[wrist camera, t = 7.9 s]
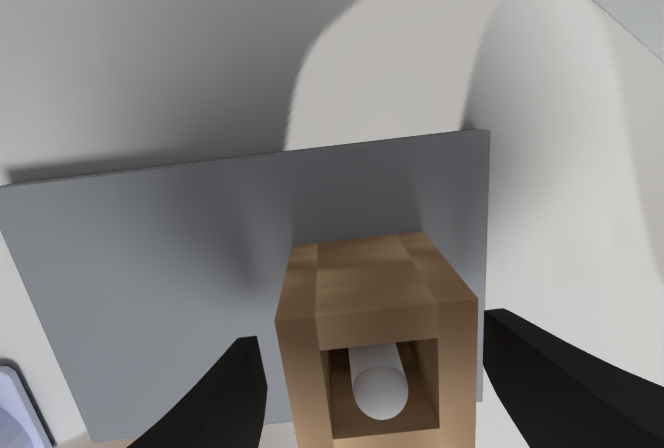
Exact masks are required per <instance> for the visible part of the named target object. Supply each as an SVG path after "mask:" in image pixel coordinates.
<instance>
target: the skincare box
mask: <svg viewBox="0 0 664 448" xmlns="http://www.w3.org/2000/svg"><path fill="white" fill-rule="evenodd" d="M593 1H594V2H595V3H597V4H598V5H599V6H600V7H601V8H602V9H603V10H604V11H606V12H607V13H608V14H609V15H610V16H611V17H612V18H614V19H615V20H616V21H617V22H618V23H619V24H620V25H622V26H623V27H624V28H625V29H626V30H627V31H628V32H629V33H631V34H632V35H633V36H634V37H635V38H636V39H637V40H639V41H640V42H641V43H642V44H643V45H644V46H646V47H647V48H648V49H649V50H650V51H651V52H652V53H654V54H655V55H656V56H657V57H658V58H659V59H660V60H662V61H663V62H664V0H593Z"/></svg>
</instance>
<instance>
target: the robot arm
mask: <svg viewBox="0 0 664 448" xmlns="http://www.w3.org/2000/svg"><path fill="white" fill-rule="evenodd" d="M483 366H484V368H485V371H486V373H487V375H488V377H489V379H490V382H491V384H492V386H493V388H494V390H495V392H496V394H497V396H498V397H499V399H500V401H501V402H502V404H503V406H504V407H505V409H506V410H507V412H508V414H509V415H510V417H511V419H512V420H513V422H514V423H515V425H516V426H517V428H518V430H519V431H520V433H521V434H522V436H523V438H524V439H525V441H526V442H527V444H528V445H529V447H530V448H664V387H662V386H660V385H658V384H655V383H653V382H650V381H648V380H646V379H643V378H641V377H638V376H636V375H634V374H631V373H629V372H627V371H624V370H622V369H620V368H618V367H616V366H613V365H611V364H609V363H607V362H605V361H603V360H601V359H599V358H597V357H595V356H593V355H591V354H589V353H587V352H585V351H583V350H581V349H579V348H577V347H575V346H573V345H571V344H569V343H567V342H565V341H563V340H562V339H560V338H558V337H556V336H554V335H552V334H551V333H549V332H547V331H545V330H543V329H541V328H540V327H538V326H536V325H534V324H532V323H531V322H529V321H527V320H525V319H523V318H521V317H520V316H518V315H516V314H514V313H512V312H510V311H508V310H506V309H504V308H502V309H493V310H484V329H483ZM267 391H268V386H267V381H266V376H265V372H264V367H263V362H262V357H261V353H260V348H259V343H258V339H257V336H248V337H239V338H237V339H236V340H235V341H234V342H233V343H232V345H231V346H230V347H229V348H228V349H227V350H226V351H225V353H224V354H223V355H222V356H221V357H220V358H219V359H218V360H217V362H216V363H215V364H214V365H213V366H212V367H211V368H210V369H209V370H208V372H207V373H206V374H205V375H204V376H203V377H202V378H201V379H200V380H199V381H198V382H197V384H196V385H195V386H194V387H193V388H192V389H191V390H190V391H189V392H188V393H187V394H186V395H185V396H184V397H183V398H182V399H181V400H180V401H179V402H178V403H177V404H176V405H175V406H174V407H173V408H172V409H171V410H170V411H168V412H167V413H166V414H165V415H164V416H163V417H162V418H161V419H160V420H159V421H158V422H156V423H155V424H154V425H153V426H152V427H151V428H150V429H148V430H147V431H146V432H145V433H144V434H143V435H141V436H140V437H139V438H138V439H137V440H136V441H134V442H133V443H132V444H131V445H129V446H128V447H127V448H258V446H259V441H260V437H261V432H262V428H263V423H264V418H265V410H266V401H267ZM0 448H53V447H52V445H51V443H50V441H49V439H48V437H47V435H46V433H45V431H44V429H43V426H42V424H41V422H40V420H39V418H38V416H37V414H36V412H35V410H34V408H33V406H32V404H31V402H30V400H29V398H28V396H27V394H26V392H25V389H24V387H23V385H22V383H21V381H20V379H19V377H18V375H17V373H16V372H15V370H13V369H12V368H10V367H7V366H0Z"/></svg>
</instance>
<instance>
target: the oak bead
mask: <svg viewBox="0 0 664 448" xmlns="http://www.w3.org/2000/svg"><path fill="white" fill-rule="evenodd" d="M274 322H275V327H276V333H277V338H278V343H279V349H280V354H281V359H282V364H283V370H284V375H285V380H286V386H287V391H288V396H289V401H290V407H291V412H292V417H293V422H294V428H295V433H296V438H297V444H298V448H475V426H476V383H477V339H478V298H477V296H476V295H475V294H474V293H473V291H472V290H471V289H470V288H469V287H468V285H467V284H466V283H465V282H464V281H463V279H462V278H461V277H460V276H459V274H458V273H457V272H456V271H455V270H454V268H453V267H452V266H451V265H450V264H449V262H448V261H447V260H446V259H445V257H444V256H443V255H442V254H441V253H440V251H439V250H438V249H437V248H436V247H435V245H434V244H433V243H432V242H431V240H430V239H429V238H428V237H427V236H426V234H425V233H424V232H423V231H417V232H409V233H400V234H391V235H382V236H373V237H364V238H355V239H346V240H337V241H329V242H320V243H311V244H302V245H293V246H292V248H291V252H290V256H289V260H288V265H287V269H286V273H285V278H284V282H283V286H282V290H281V295H280V299H279V303H278V307H277V312H276V316H275V320H274ZM386 343H395V344H396V348H397V351H398V354H399V357H400V361H401V364H402V367H403V370H404V374H405V377H406V380H407V384H408V398H407V402H406V404H405V406H404V408H403V409H402V411H401V412H400V413H399V414H397V415H396V416H395V417H393V418H390V419H386V420H378V419H374V418H372V417H369V416H368V415H366V414H365V413H364V412H363V411H362V410H361V409H360V408H359V407H358V405H357V403H356V401H355V398H354V395H353V389H352V379H351V369H350V360H349V350H348V348H349V347H358V346H367V345H376V344H386Z"/></svg>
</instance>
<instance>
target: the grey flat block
mask: <svg viewBox="0 0 664 448" xmlns="http://www.w3.org/2000/svg"><path fill="white" fill-rule="evenodd" d="M489 147H490V131H489V130H481V129H471V130H462V131H453V132H446V133H436V134H428V135H420V136H411V137H403V138H394V139H386V140H377V141H368V142H360V143H351V144H343V145H334V146H326V147H318V148H310V149H300V150H292V151H283V152H275V153H266V154H257V155H249V156H240V157H232V158H223V159H215V160H206V161H198V162H189V163H181V164H172V165H164V166H155V167H147V168H138V169H130V170H121V171H113V172H104V173H96V174H87V175H78V176H70V177H61V178H53V179H44V180H36V181H27V182H19V183H11V184H7V185H2V186H0V230H1V233H2V235H3V237H4V240H5V242H6V244H7V247H8V249H9V251H10V253H11V256H12V258H13V260H14V263H15V265H16V267H17V269H18V272H19V274H20V276H21V279H22V281H23V283H24V286H25V288H26V290H27V292H28V295H29V297H30V299H31V302H32V304H33V306H34V309H35V311H36V313H37V315H38V318H39V320H40V322H41V325H42V327H43V329H44V331H45V334H46V336H47V338H48V341H49V343H50V345H51V348H52V350H53V352H54V354H55V357H56V359H57V361H58V364H59V366H60V368H61V371H62V373H63V375H64V377H65V380H66V382H67V384H68V387H69V389H70V391H71V393H72V396H73V398H74V400H75V403H76V405H77V407H78V410H79V412H80V414H81V416H82V419H83V421H84V423H85V426H86V428H87V430H88V433H89V435H90V437H91V439H92V442H93V443H98V442H107V441H116V440H126V439H135V438H139V437H140V436H141V435H143V434H144V433H145V432H146V431H147V430H148V429H150V428H151V427H152V426H153V425H154V424H155V423H156V422H158V421H159V420H160V419H161V418H162V417H163V416H164V415H165V414H166V413H167V412H168V411H170V410H171V409H172V408H173V407H174V406H175V405H176V404H177V403H178V402H179V401H180V400H181V399H182V398H183V397H184V396H185V395H186V394H187V393H188V392H189V391H190V390H191V389H192V388H193V387H194V386H195V385H196V384H197V382H198V381H199V380H200V379H201V378H202V377H203V376H204V375H205V374H206V373H207V372H208V370H209V369H210V368H211V367H212V366H213V365H214V364H215V363H216V362H217V360H218V359H219V358H220V357H221V356H222V355H223V354H224V353H225V351H226V350H227V349H228V348H229V347H230V346H231V345H232V343H233V342H234V341H235V340H236V339H237V338H239V337H248V336H257V339H258V343H259V348H260V353H261V357H262V362H263V367H264V372H265V376H266V381H267V386H268V391H267V401H266V410H265V418H264V423H263V425H266V424H276V423H285V422H293V417H292V412H291V407H290V401H289V396H288V391H287V386H286V380H285V375H284V370H283V364H282V359H281V354H280V349H279V343H278V338H277V333H276V327H275V322H274V320H275V316H276V312H277V307H278V303H279V299H280V295H281V290H282V286H283V282H284V278H285V273H286V269H287V265H288V260H289V256H290V252H291V248H292V246H293V245H302V244H311V243H320V242H329V241H337V240H346V239H355V238H364V237H373V236H382V235H391V234H400V233H409V232H417V231H423V232H424V233H425V234H426V236H427V237H428V238H429V239H430V240H431V242H432V243H433V244H434V245H435V247H436V248H437V249H438V250H439V251H440V253H441V254H442V255H443V256H444V257H445V259H446V260H447V261H448V262H449V264H450V265H451V266H452V267H453V268H454V270H455V271H456V272H457V273H458V274H459V276H460V277H461V278H462V279H463V281H464V282H465V283H466V284H467V285H468V287H469V288H470V289H471V290H472V291H473V293H474V294H475V295H476V296H477V298H478V339H477V383H476V402H481V401H482V393H483V329H484V310H485V287H486V252H487V217H488V182H489ZM348 350H349V360H350V369H351V379H352V389H353V395H354V398H355V401H356V403H357V405H358V407H359V408H360V409H361V410H362V411H363V412H364V413H365V414H366V415H368V416H369V417H372V418H374V419H378V420H386V419H390V418H393V417H395V416H396V415H397V414H399V413H400V412H401V411H402V409H403V408H404V406H405V404H406V402H407V398H408V384H407V380H406V377H405V374H404V370H403V367H402V364H401V361H400V357H399V354H398V351H397V348H396V344H395V343H386V344H376V345H367V346H358V347H349V348H348Z"/></svg>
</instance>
